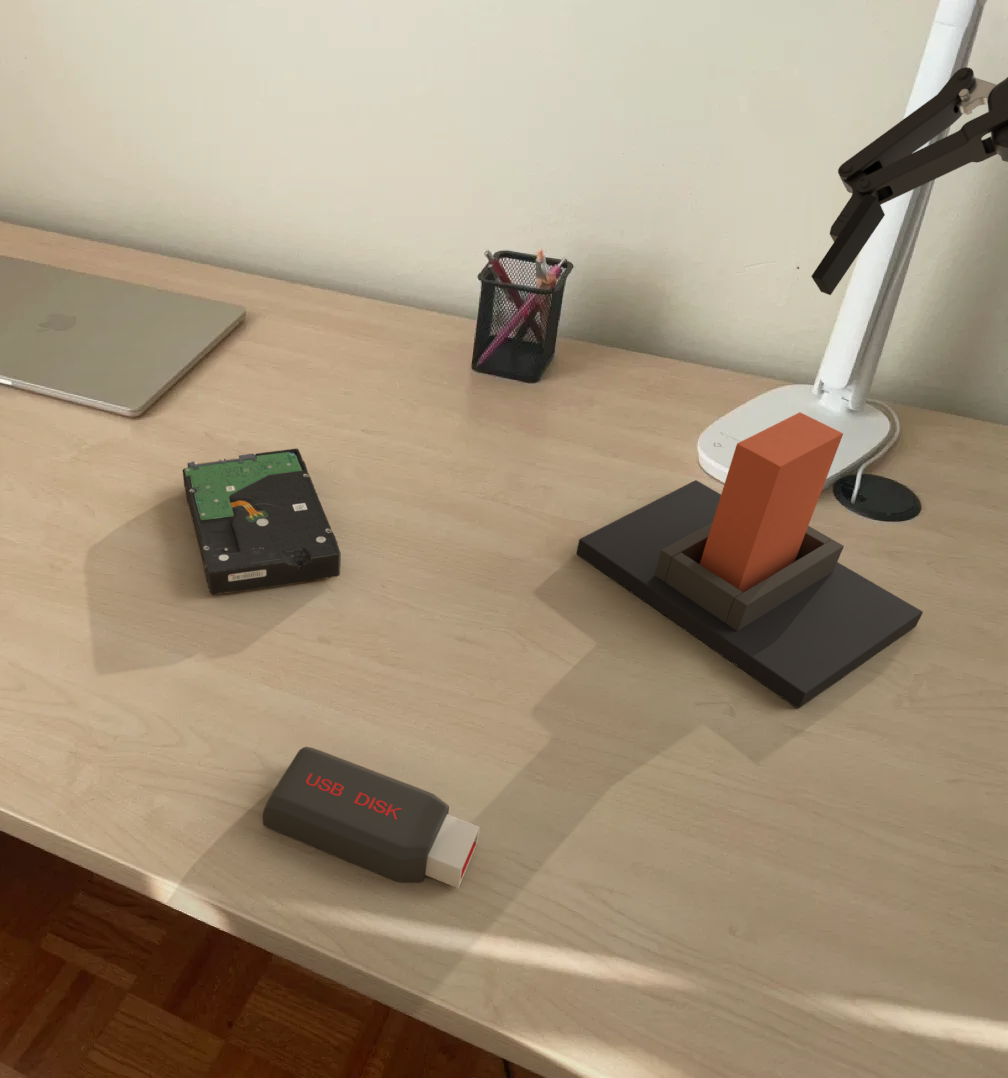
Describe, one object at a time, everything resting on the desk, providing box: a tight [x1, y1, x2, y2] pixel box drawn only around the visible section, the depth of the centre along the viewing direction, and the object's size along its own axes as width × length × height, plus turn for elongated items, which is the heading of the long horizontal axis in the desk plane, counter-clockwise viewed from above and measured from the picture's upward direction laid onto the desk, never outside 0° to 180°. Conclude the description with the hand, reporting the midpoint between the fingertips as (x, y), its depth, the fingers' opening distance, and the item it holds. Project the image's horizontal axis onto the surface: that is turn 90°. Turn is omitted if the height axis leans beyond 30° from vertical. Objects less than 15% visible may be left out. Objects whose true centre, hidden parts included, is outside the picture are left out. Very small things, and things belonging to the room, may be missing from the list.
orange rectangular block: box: [700, 412, 844, 593], centre depth 75 cm, size 3×7×12 cm, turn 125°
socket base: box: [575, 479, 924, 709], centre depth 79 cm, size 20×14×4 cm
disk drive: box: [182, 448, 342, 596], centre depth 85 cm, size 10×3×15 cm
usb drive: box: [262, 746, 481, 889], centre depth 62 cm, size 5×12×3 cm, turn 63°
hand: (912, 319), depth 71 cm, fingers open, 13 cm apart
